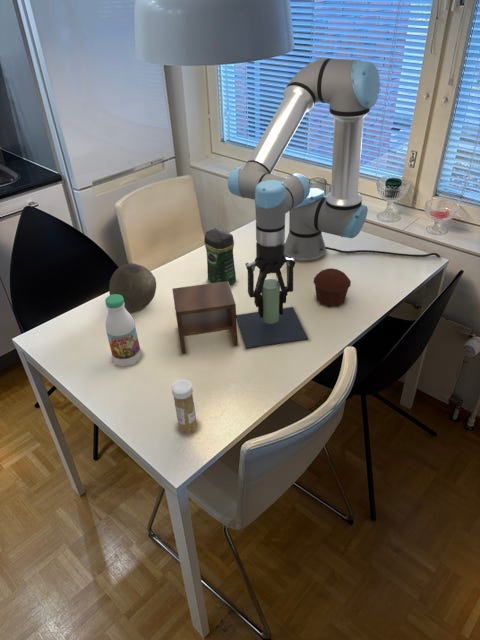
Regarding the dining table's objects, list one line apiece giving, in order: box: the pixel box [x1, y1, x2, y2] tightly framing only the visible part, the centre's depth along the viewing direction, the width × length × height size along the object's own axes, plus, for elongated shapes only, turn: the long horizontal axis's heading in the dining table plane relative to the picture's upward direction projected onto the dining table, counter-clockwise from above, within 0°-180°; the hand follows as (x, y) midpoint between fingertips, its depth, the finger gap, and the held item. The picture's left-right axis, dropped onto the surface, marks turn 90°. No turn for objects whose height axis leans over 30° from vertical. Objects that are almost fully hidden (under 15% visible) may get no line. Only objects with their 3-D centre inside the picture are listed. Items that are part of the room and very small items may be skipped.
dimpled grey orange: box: [108, 263, 157, 314], centre depth 152 cm, size 14×14×15 cm
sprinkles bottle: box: [171, 379, 199, 435], centre depth 112 cm, size 5×5×14 cm
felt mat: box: [236, 306, 309, 350], centre depth 146 cm, size 18×16×1 cm
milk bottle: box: [104, 294, 142, 367], centre depth 131 cm, size 8×8×20 cm
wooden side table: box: [171, 281, 239, 355], centre depth 139 cm, size 16×12×14 cm
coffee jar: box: [203, 227, 237, 287], centre depth 162 cm, size 10×8×19 cm
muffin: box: [312, 267, 352, 308], centre depth 154 cm, size 12×11×10 cm
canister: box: [261, 278, 281, 324], centre depth 140 cm, size 5×5×12 cm
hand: (270, 313), depth 143 cm, fingers closed on canister, 5 cm apart
